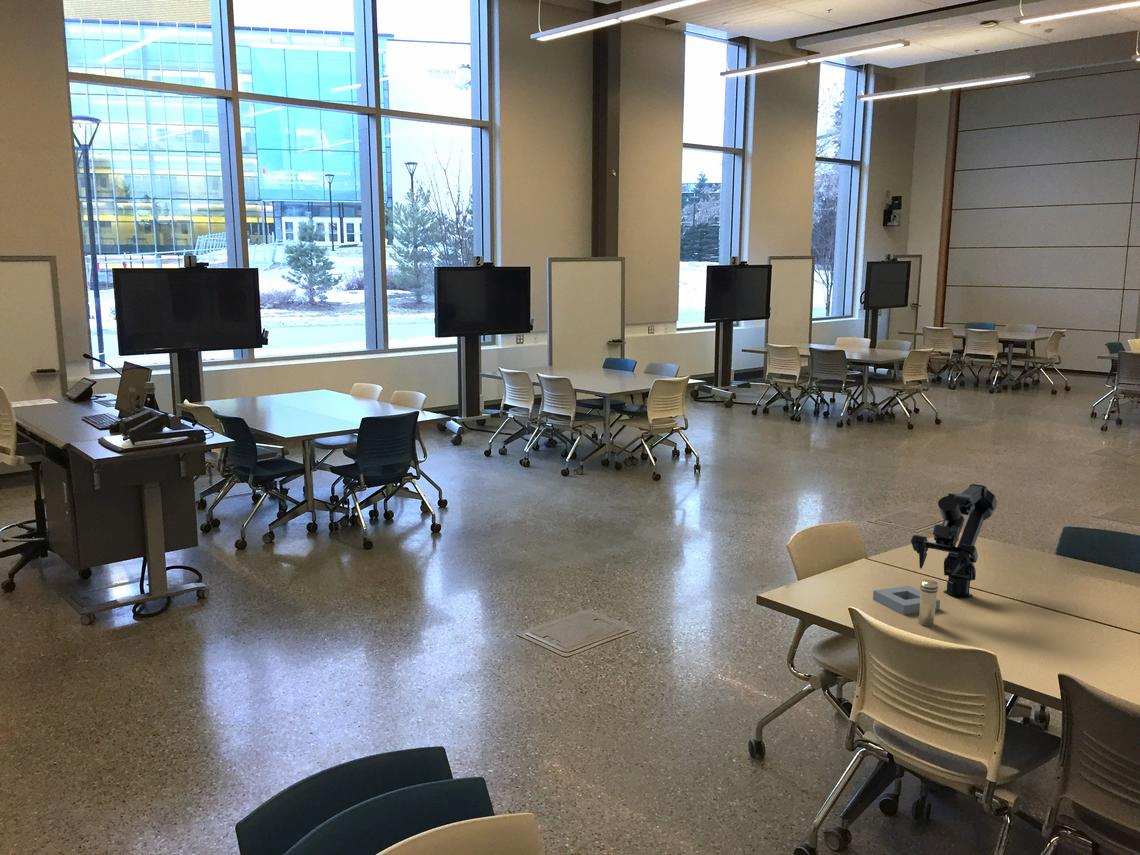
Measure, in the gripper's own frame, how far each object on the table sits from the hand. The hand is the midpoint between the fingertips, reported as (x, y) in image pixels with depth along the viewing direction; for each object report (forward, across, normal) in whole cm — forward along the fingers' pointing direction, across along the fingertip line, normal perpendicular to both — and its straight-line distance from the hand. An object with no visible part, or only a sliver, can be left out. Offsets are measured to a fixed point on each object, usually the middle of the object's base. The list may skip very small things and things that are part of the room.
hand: (935, 571), depth 268 cm
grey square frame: (+7, -10, +13) cm, 18 cm away
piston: (+16, +1, +5) cm, 16 cm away
